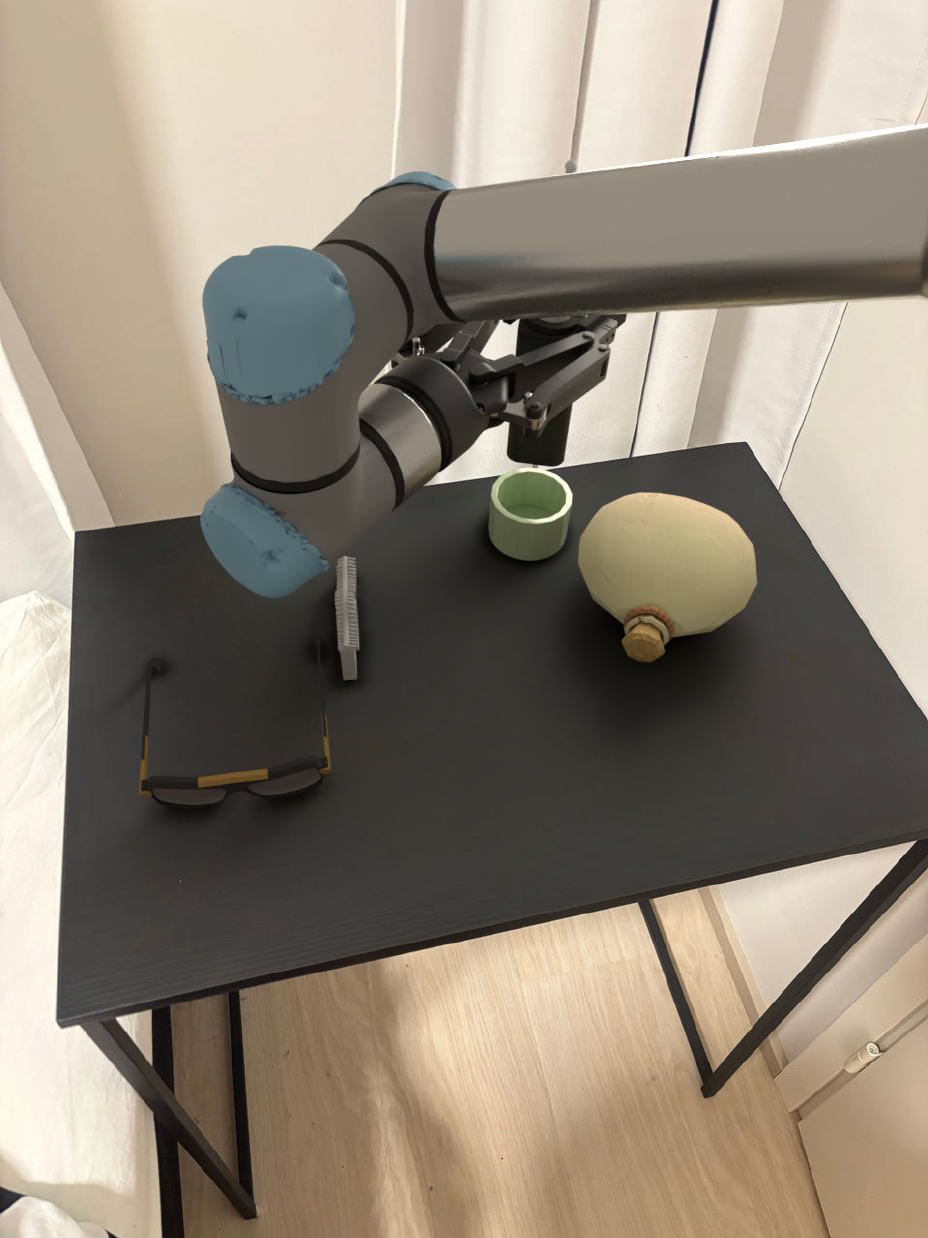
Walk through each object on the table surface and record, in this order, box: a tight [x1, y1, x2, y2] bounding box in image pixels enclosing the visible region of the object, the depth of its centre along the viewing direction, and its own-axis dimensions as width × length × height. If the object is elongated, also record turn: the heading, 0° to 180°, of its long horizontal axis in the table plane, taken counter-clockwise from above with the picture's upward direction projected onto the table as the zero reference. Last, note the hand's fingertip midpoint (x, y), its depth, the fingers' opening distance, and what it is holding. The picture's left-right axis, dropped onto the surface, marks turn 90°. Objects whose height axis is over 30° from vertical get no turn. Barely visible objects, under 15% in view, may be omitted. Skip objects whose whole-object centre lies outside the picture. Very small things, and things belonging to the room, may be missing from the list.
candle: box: [506, 159, 587, 468], centre depth 72 cm, size 5×5×25 cm
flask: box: [577, 491, 758, 663], centre depth 81 cm, size 9×16×18 cm
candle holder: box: [487, 467, 573, 562], centre depth 89 cm, size 8×8×5 cm
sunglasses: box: [138, 638, 332, 810], centre depth 73 cm, size 14×15×5 cm
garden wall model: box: [334, 555, 360, 681], centre depth 80 cm, size 12×2×6 cm, turn 6°
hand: (588, 289), depth 75 cm, fingers closed on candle, 6 cm apart
